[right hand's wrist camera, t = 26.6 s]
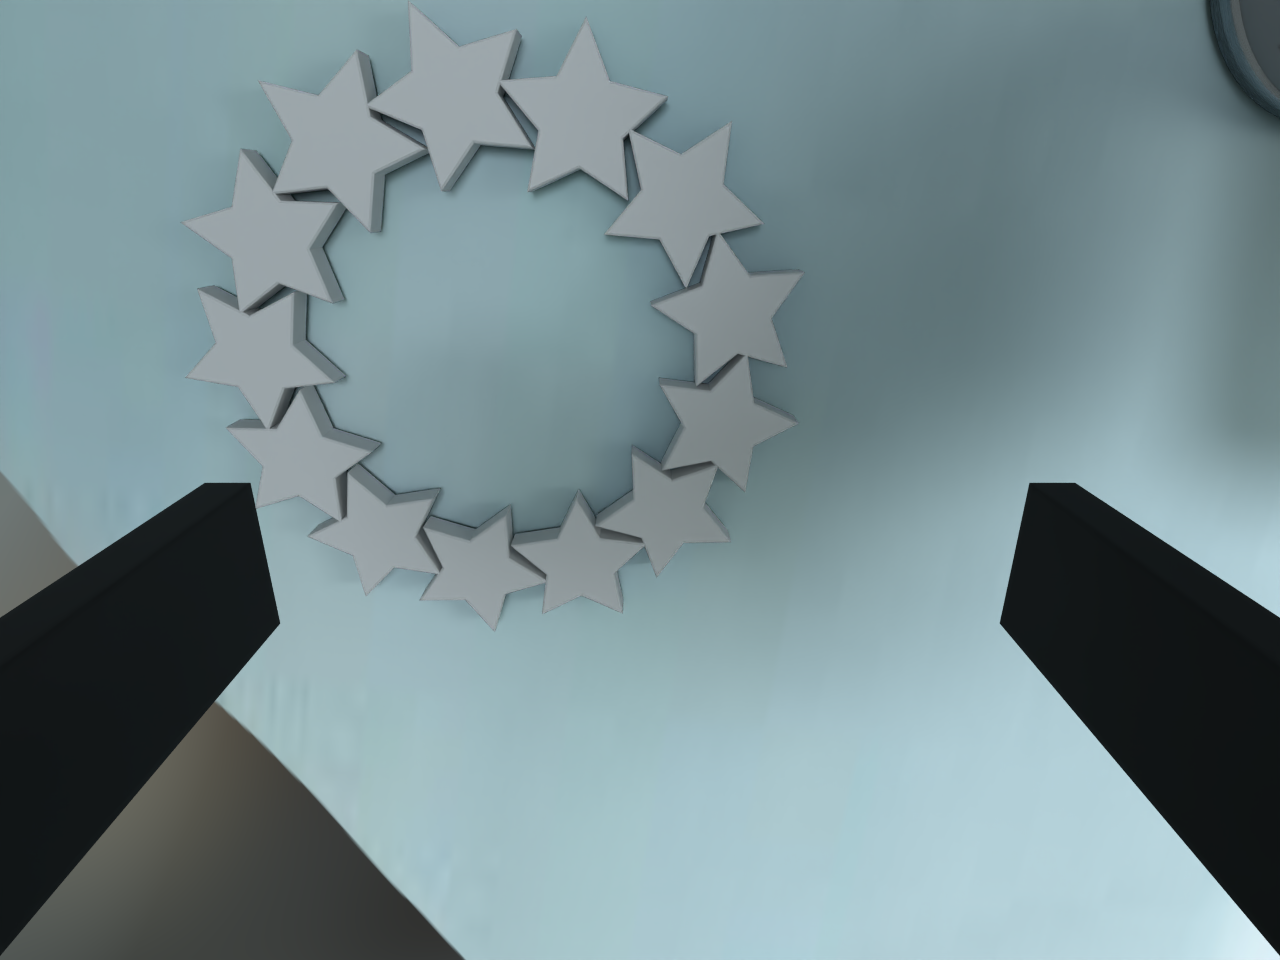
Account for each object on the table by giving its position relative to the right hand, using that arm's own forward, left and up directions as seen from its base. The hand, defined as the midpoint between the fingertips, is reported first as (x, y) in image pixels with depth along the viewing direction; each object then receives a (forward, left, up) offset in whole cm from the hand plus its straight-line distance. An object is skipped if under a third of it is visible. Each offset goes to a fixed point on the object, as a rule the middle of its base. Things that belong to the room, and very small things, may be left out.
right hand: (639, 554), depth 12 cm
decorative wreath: (0, -7, -25) cm, 26 cm away
